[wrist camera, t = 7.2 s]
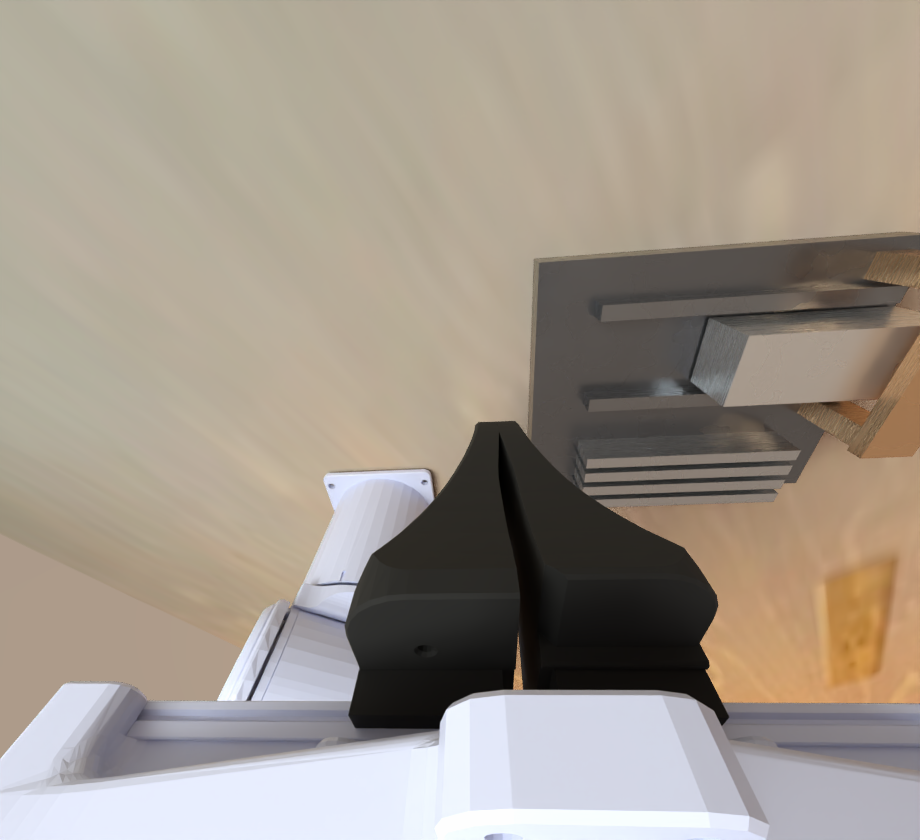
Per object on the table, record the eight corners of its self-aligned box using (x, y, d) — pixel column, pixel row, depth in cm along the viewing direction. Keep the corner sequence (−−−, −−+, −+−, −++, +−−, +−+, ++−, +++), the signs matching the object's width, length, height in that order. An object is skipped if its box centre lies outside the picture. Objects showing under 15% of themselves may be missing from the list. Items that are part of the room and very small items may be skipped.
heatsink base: (778, 468, 25) (857, 534, 20) (526, 478, 26) (539, 543, 21) (900, 231, 17) (1079, 241, 12) (534, 258, 18) (559, 277, 13)
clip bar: (857, 372, 19) (917, 397, 17) (690, 381, 20) (723, 406, 17) (894, 306, 17) (968, 322, 15) (709, 317, 18) (749, 335, 15)
